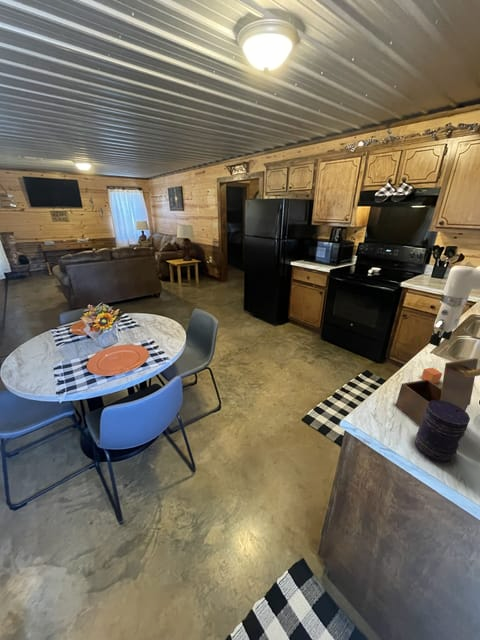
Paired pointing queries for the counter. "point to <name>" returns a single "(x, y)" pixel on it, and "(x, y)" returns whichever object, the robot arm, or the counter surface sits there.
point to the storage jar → (441, 431)
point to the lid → (459, 381)
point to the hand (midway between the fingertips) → (439, 341)
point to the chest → (418, 398)
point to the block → (431, 375)
